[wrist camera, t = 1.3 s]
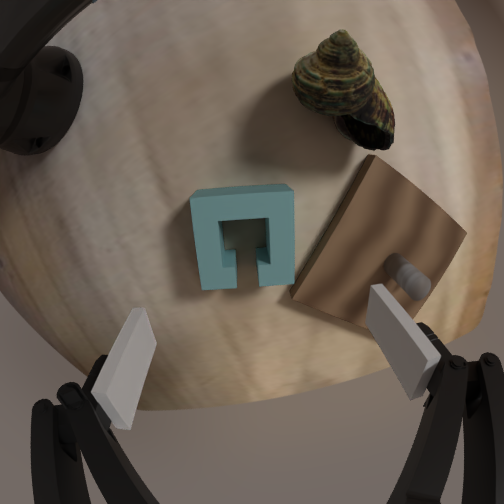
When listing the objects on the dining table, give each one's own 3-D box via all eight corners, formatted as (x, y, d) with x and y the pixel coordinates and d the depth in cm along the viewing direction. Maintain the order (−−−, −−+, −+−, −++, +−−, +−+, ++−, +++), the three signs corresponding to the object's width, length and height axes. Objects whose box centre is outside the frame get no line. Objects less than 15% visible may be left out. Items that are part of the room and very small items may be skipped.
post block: (289, 291, 36) (303, 333, 28) (368, 154, 30) (408, 160, 22) (391, 332, 40) (415, 368, 32) (459, 228, 34) (497, 250, 26)
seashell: (289, 151, 30) (312, 155, 20) (280, 56, 26) (297, 23, 16) (374, 149, 30) (422, 156, 21) (366, 61, 26) (409, 39, 16)
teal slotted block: (197, 189, 31) (189, 198, 26) (285, 183, 31) (293, 191, 26) (206, 270, 35) (201, 290, 30) (287, 264, 35) (294, 283, 30)
